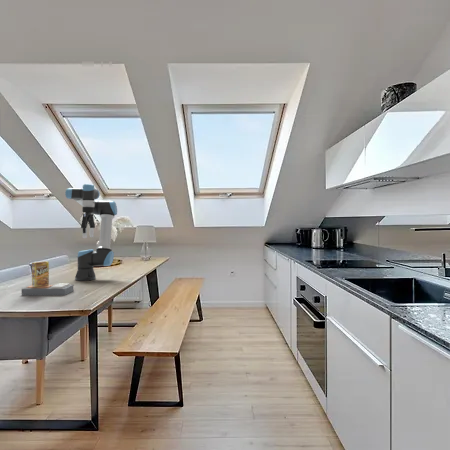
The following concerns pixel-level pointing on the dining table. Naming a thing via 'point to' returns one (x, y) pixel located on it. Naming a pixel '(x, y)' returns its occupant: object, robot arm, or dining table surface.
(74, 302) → the dining table surface
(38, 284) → the candy box
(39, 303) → the dining table surface
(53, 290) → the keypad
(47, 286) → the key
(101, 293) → the dining table surface
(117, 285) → the dining table surface
